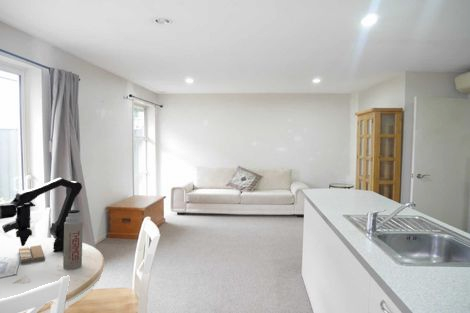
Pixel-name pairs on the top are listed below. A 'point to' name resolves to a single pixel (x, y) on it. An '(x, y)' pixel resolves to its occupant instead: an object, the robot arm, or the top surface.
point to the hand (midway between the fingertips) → (22, 245)
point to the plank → (25, 254)
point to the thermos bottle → (73, 241)
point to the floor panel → (35, 255)
